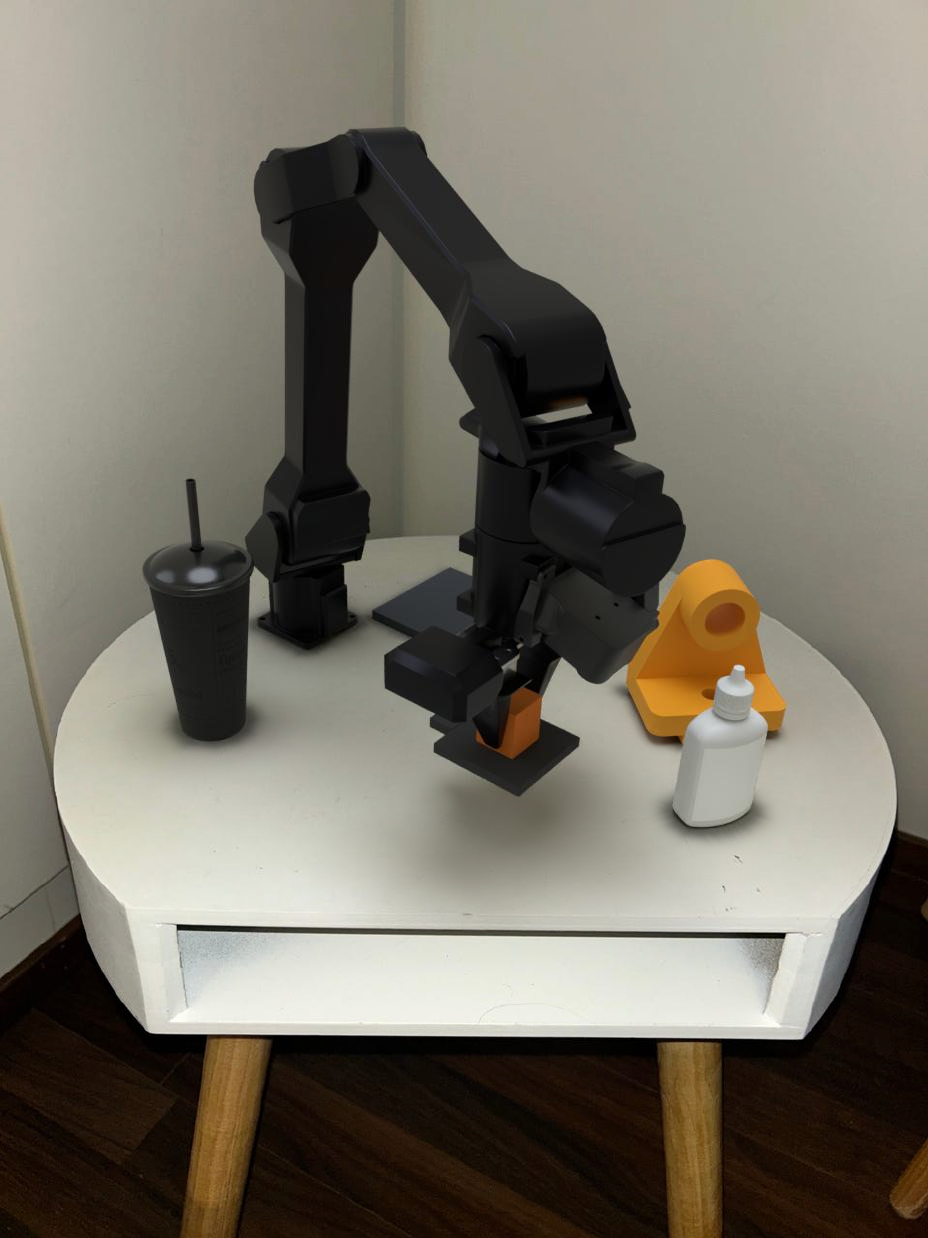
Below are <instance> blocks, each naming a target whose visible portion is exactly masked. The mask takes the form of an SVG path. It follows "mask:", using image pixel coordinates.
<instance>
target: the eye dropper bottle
mask: <svg viewBox="0 0 928 1238" xmlns="http://www.w3.org/2000/svg"><path fill="white" fill-rule="evenodd" d="M753 694H754V686H753V685H752V683H751V682H749V681H748V680H746V679H745V668H744V667H743V666H741V665H735V666H734V668H733V670H732V672H731V674H730V676H725V677H722V678H720V679H719V680H718V682H717V685H716V691H715V696H714V702H713V707H711V708H709V709H707V710H705V711H704V712H702V713H701V714H699V715H698V716H697V717H696V718H694V719H693V720H692V721H691V722H690V723H689V725H688V727H687V730H686V733H685V738H684V743H683V744H682V749H681V755H680V759H679V765H678V771H677V777H676V782H675V787H674V794H673V800H672V809H673V811H674V812H675V814H676V815H678V817H679V819H681V820H682V822H683V823H684V824H686V825H687V826H689V827H693V828H694V827H695V828H708V827H717V826H722V825H725V824H729V823H731V822H734V821H736V820H738V819H740V818H741V817H743V816H744V815H745V814H747V813H748V812H749V811H750V809H751V807H752V804H753V801H754V796H755V792H756V787H757V782H758V778H759V773H760V769H761V764H762V760H763V755H764V750H765V746H766V740H767V734H768V732H769V731H768V725H767V722H766V720H765V719H764V718H763V717H762V716H761V715H760V714H759V713H758V712H757V711H756V710H754V709H753V708H751V704H752V699H753Z"/></svg>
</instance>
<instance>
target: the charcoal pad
mask: <svg viewBox="0 0 928 1238" xmlns="http://www.w3.org/2000/svg"><path fill="white" fill-rule="evenodd" d="M471 587H472V575H471V574H468V573H465V572H463V571H460V570H458V569H455V568H453V567H451V566H449V567H447V568H446V569H444V570H442V571H441V572H439V573H437V574H435V575H433V576H431V577H430V578H428V579H426V580H424V581H422V582H421V583H419V584H417V585H415V586H412V588H410V589H408V590H406V591H404V592H402V593H401V594H399V595H397V596H395V597H393V598H392V599H390V600H388V601H385V602H384V603H383V604H381V605H379V606H377V607H376V608H373V609H372V610H371V618H372V619H374V620H376V621H378V622H381V623H383V624H385V625H387V626H390V627H392V628H393V629H395V630H397V631H400V632H401V633H404V634H406V635H408V636H410V637H414V636H416V635H417V634H419V633H421V632H422V631H424V630H426V629H427V628H429V627H431V626H432V625H435V626H437V627H439V628H441V629H443V630H446V631H448V632H450V633H452V634H455V635H457V634H458V633H459V632H461V631H463V630H464V629H466V628H467V627H469V626H471V625H472V624H474V622H473V617H471V616H469V615H467V614H464V613H462V612H460V611H457V610H456V605H457V596H458V595H459V594H461V593H463V592H464V591H466V590H468V589H470V588H471Z"/></svg>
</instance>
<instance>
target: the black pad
mask: <svg viewBox="0 0 928 1238" xmlns="http://www.w3.org/2000/svg"><path fill="white" fill-rule="evenodd" d="M542 705H543V698H542V695H540V694H537V693H535V692H533V691H531V690H529V689H527V688H525V687H522V688H521V689H519V690H518V691H517V692H515V693H514V694H512V697H511V702H510V708H509V713H508V718H507V724H506V729H505V734H504V737H503V741H502V744H501V747H500V748H498V749H494V748H492V747H490V746H488V745H486V744H485V743H484V741H483V739H482V737H481V736H480V734H479V732H478V730H477V728H476V726H475V724H474V722H473V720H472V718H471V719H470V720H469V721H467V722H459V723H452V722H450V721H448V720H446V719H444V718H442V717H440V716H438V715H436V714H433V715H432V716H430V717H429V728H431V729H432V730H435V731H436V732H439V733H440V734H442V735H443V736H442V737H440V738H439V739H437V740H436V741H434V742H433V750H432V751H433V753H434V754H436V755H437V756H439V757H442V758H443V759H445V760H447V761H449V762H450V763H452V764H455V765H456V766H459V767H460V768H462V769H464V770H466V771H468V772H470V773H472V774H474V775H476V776H477V777H479V778H481V779H484V780H485V781H487V782H489V783H491V784H492V785H494V786H495V787H497V788H500V789H502V790H504V791H506V792H507V793H509V794H511V795H513V796H515V797H517V798H520V797H521V796H522V795H523V794H524V793H526V792H527V791H528V790H529V789H531V787H533V785H535V784H536V783H537V782H538V781H540V780H541V779H542V778H543V777H545V776H546V775H547V774H548V773H549V772H550V771H551V770H553V769H554V768H555V767H557V765H559V764H560V763H561V762H562V761H563V760H565V759H566V758H567V757H568V756H570V754H572V753H573V752H574V751H575V750H576V749H578V748H579V747H580V743H581V742H580V741H581V736H578V735H576V734H574V733H572V732H570V731H569V730H568V731H567V730H565V729H564V728H562V727H560V726H557V725H555V724H553V723H551V722H550V721H549V722H548V721H547V720H544V719H543V718H541V716H542Z"/></svg>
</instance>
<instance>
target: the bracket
mask: <svg viewBox="0 0 928 1238" xmlns="http://www.w3.org/2000/svg"><path fill="white" fill-rule="evenodd" d="M760 609H761V608H760V605H759V602H758V601H757V599H756V598H755V597H754V596H753V594H752V593H751V591H750V590H749V588H748V587H747V586H746V584H745V583H744V581H743V580H742V578H741V577H740V576H739V574H738V573H737V572H736V570H735V569H734V567H732V566H731V564H729V563H727V562H725V561H723V560H719V559H715V558H713V559H710V558H709V559H703V560H700V561H696V562H694V563H692V564H690V565H689V566H687V567H685V569H683V570H682V572H680V574H678V576H677V577H676V579H675V580H674V582H673V584H672V586H671V587H670V589H669V591H668V593H667V594H666V597H665V598H664V600H663V602H662V604H661V605H660V607H659V608H658V611H659V612H660V614H659V615H658V617H657V619H658V621H659V627H658V628H657V629H656V630H654V631H653V632H652V633H650V634H649V635H648V636H647V637H646V638H645V640H644V642H643V643H642V645H641V646H640V648H639V650H638V651H637V653H636V655H635V656H634V658H633V660H632V661H631V662H630V663H629V664H628V665H627V671H626V679H625V685H626V687H627V689H628V691H629V693H630V696H631V698H632V701H633V702H634V704H635V707H636V709H637V711H638V713H639V715H640V717H641V720H642V722H643V725H644V726H645V729H646V730H647V732H648V733H650V734H651V735H653V736H656V737H678V738H679V741H680V743H681V745H683V743H684V738H685V733H686V730H687V727H688V725H689V723H690V722H691V721H692V720H693V719H694V718H696V717H697V716H698V715H699V714H701V713H702V712H704V711H705V710H707V709H709V708H711V707H713V702H714V696H715V691H716V685H717V682H718V680H719V679H720V678H722V677H725V676H730V674H731V672H732V670H733V668H734V666H735V665H741V666H743V667H744V668H745V679H746V680H748V681H749V682H751V683H752V685H753V686H754V694H753V699H752V704H751V708H753V709H754V710H756V711H757V712H758V713H759V714H760V715H761V716H762V717H763V718H764V719H765V720H766V722H767V725H768V731H767V732H773V731H774V732H775V731H778V730H780V729H781V728H782V727H783V722H784V717H785V714H786V709H787V702H786V700H784V697H782V695H781V694H780V692H779V691H778V689H777V687H776V686H775V685H774V683H773V681H772V680H771V678H770V677H769V675H768V674H767V670H766V666H765V661H764V658H763V653H762V649H761V644H760V640H759V635H758V630H757V628H758V627H759V626H758V625H759V624H760V620H761V610H760Z"/></svg>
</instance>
